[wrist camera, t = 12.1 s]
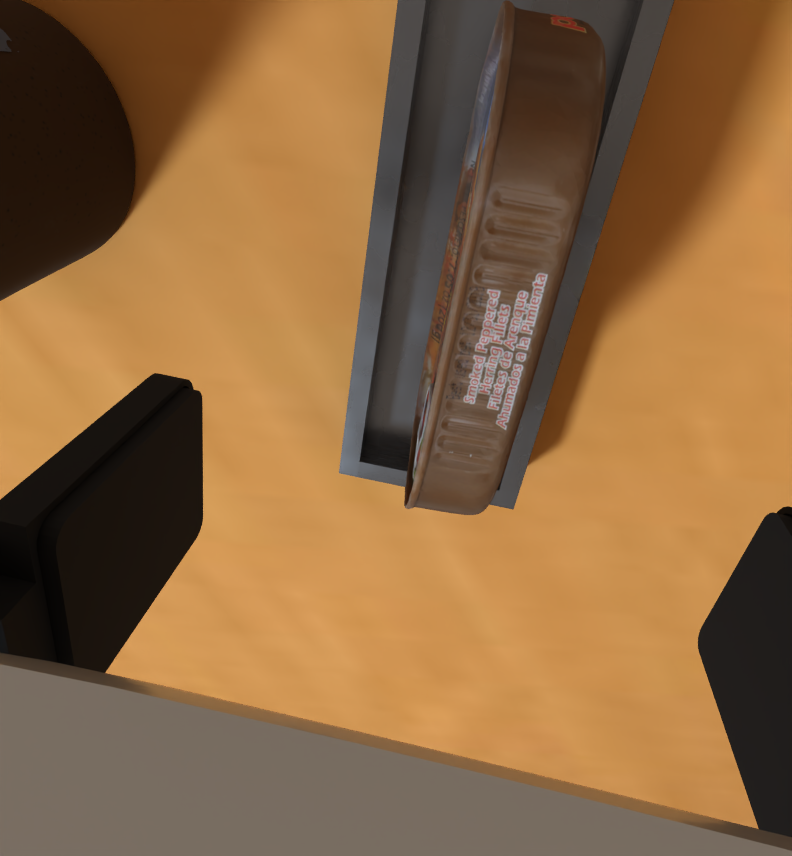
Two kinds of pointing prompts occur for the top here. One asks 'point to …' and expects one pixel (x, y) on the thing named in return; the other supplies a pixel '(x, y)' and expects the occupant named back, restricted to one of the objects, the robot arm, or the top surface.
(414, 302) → the tray
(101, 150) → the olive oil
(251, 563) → the top surface
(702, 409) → the top surface
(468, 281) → the tin
